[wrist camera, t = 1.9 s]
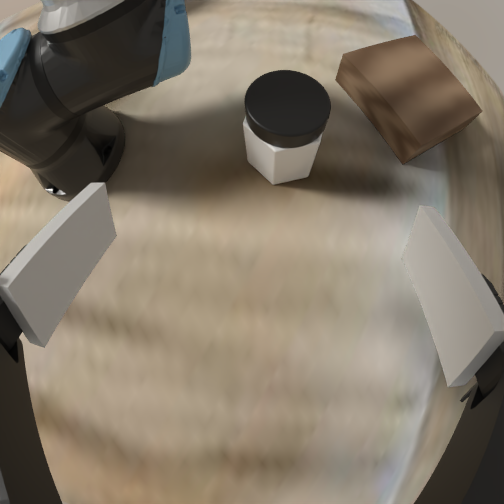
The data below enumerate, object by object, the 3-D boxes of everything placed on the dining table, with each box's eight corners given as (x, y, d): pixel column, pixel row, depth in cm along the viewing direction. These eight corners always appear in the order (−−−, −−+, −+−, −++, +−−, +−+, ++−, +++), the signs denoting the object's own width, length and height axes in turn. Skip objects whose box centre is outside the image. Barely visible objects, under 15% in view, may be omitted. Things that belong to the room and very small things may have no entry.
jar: (329, 157, 37) (351, 106, 25) (285, 198, 37) (293, 155, 25) (279, 115, 38) (283, 55, 27) (234, 151, 38) (223, 97, 26)
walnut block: (335, 80, 39) (343, 54, 33) (403, 56, 40) (415, 35, 34) (402, 164, 37) (421, 145, 31) (463, 128, 37) (482, 111, 31)
